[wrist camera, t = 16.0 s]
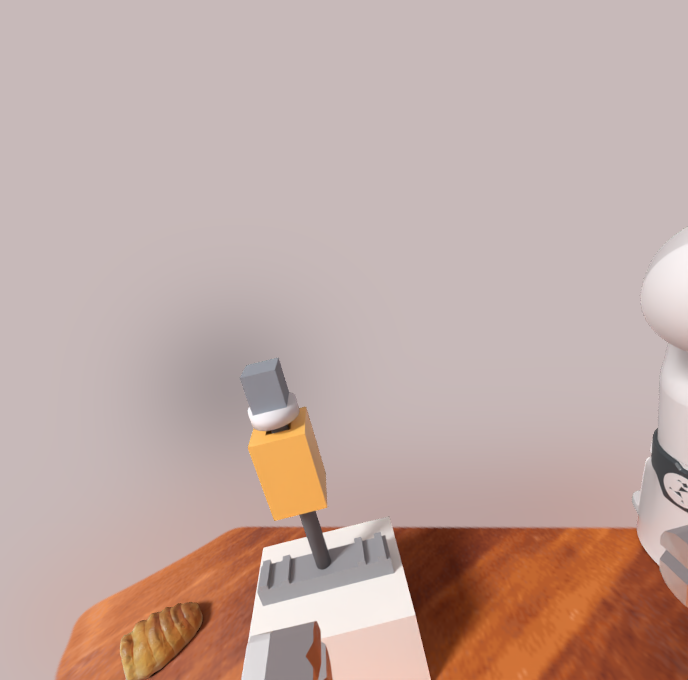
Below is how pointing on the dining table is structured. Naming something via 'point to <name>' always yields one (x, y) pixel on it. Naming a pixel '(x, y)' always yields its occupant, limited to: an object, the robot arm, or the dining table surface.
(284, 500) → the sleeve
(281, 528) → the dining table surface
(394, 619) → the comb base
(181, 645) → the pastry
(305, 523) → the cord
